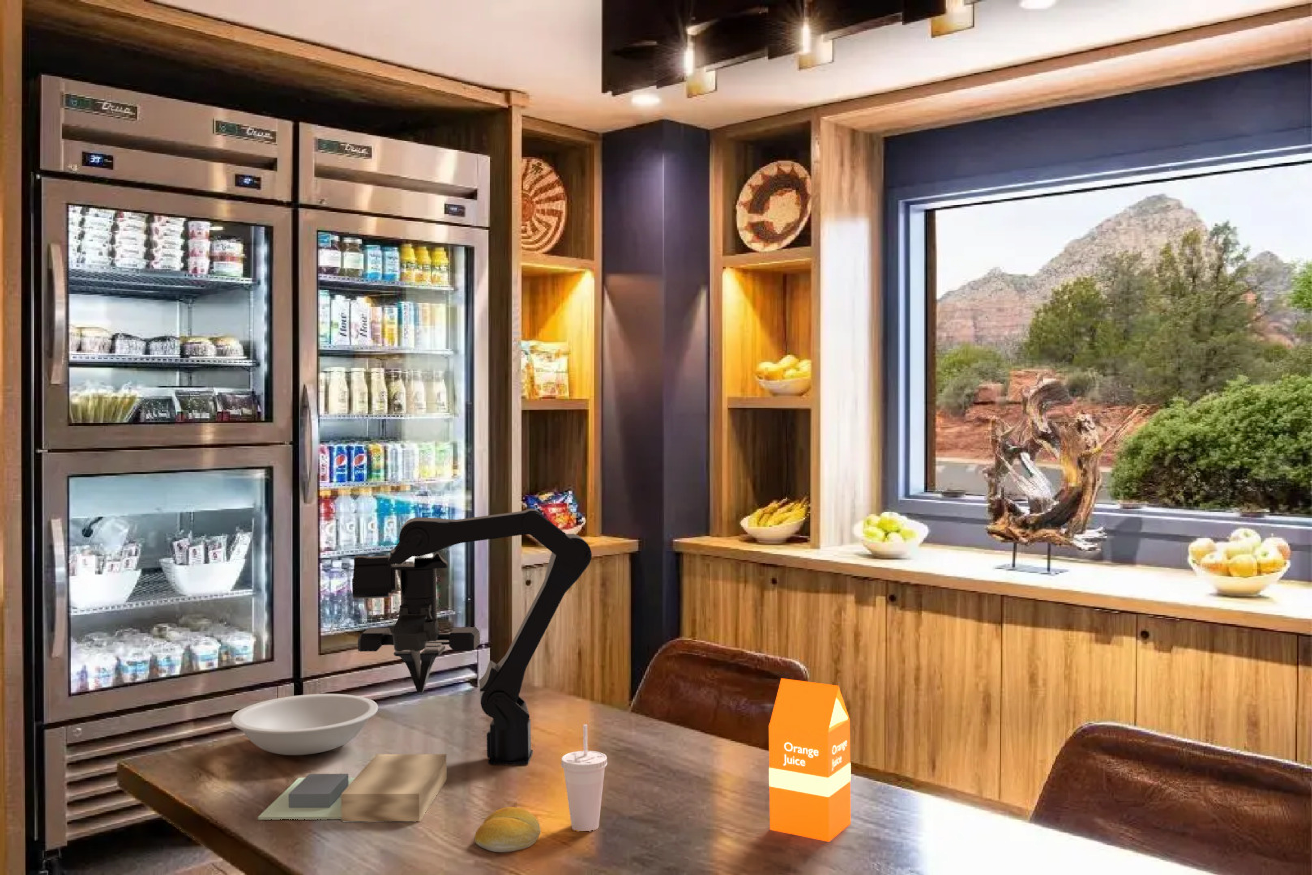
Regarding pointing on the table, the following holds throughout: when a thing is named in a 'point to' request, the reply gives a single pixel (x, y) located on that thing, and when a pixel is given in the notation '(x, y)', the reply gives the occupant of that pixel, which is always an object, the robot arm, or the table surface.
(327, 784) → the grey bevelled block
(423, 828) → the table surface
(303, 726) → the soup bowl
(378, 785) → the wooden block
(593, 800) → the smoothie
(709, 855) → the table surface
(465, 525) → the robot arm
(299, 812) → the mat
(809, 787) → the orange juice
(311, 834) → the table surface
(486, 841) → the bread roll
